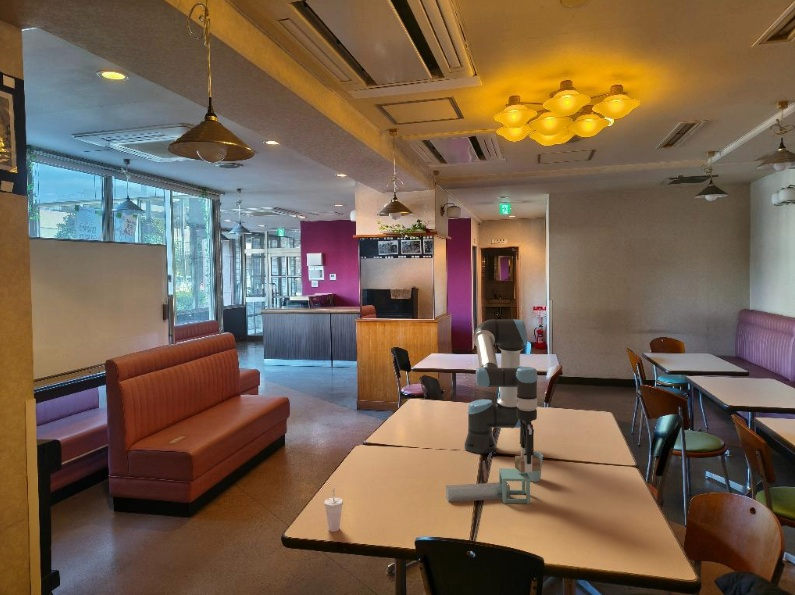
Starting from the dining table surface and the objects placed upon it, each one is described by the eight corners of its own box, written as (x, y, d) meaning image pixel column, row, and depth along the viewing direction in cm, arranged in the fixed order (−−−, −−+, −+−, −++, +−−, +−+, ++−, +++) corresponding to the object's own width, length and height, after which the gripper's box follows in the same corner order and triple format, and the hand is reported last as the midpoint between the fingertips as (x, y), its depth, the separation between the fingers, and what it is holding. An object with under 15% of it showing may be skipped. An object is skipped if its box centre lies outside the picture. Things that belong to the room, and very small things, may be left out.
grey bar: (446, 498, 201) (445, 485, 200) (506, 494, 203) (506, 481, 203) (448, 502, 197) (448, 489, 196) (509, 498, 199) (509, 486, 199)
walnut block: (515, 467, 201) (515, 456, 200) (534, 465, 202) (534, 454, 202) (520, 472, 196) (520, 460, 195) (540, 470, 197) (540, 458, 197)
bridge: (499, 492, 205) (499, 468, 204) (524, 492, 204) (524, 468, 204) (502, 503, 195) (502, 478, 194) (530, 503, 194) (530, 478, 194)
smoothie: (344, 524, 180) (343, 484, 180) (342, 533, 174) (342, 492, 173) (325, 524, 180) (324, 484, 179) (323, 534, 174) (322, 492, 173)
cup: (538, 484, 212) (538, 459, 211) (520, 480, 217) (520, 455, 216) (545, 478, 218) (546, 454, 217) (528, 474, 222) (528, 450, 222)
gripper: (512, 401, 207) (512, 459, 209) (521, 415, 188) (521, 478, 190) (531, 402, 207) (531, 459, 208) (542, 415, 188) (542, 478, 189)
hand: (526, 468), depth 199 cm, fingers closed on walnut block, 6 cm apart
